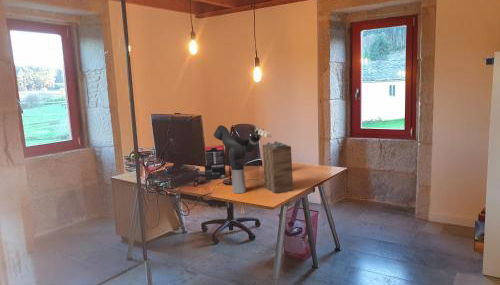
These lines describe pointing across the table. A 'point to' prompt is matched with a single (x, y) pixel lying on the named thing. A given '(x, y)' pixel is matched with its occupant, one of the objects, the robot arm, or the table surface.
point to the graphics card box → (215, 162)
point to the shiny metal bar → (263, 133)
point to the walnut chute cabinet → (278, 167)
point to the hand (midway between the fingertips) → (260, 130)
